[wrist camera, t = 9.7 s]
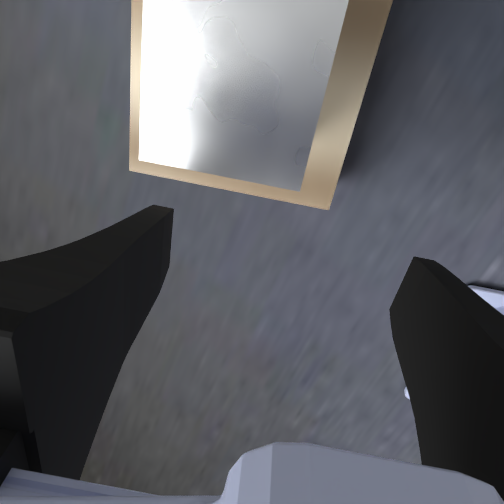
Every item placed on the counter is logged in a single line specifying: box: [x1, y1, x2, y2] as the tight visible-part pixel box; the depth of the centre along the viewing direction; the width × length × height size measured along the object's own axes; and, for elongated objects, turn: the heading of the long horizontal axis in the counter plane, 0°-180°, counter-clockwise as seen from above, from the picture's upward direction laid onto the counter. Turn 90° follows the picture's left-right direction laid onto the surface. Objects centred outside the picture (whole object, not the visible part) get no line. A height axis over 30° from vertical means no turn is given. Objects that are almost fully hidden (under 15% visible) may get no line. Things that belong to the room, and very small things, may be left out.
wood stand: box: [129, 0, 393, 210], centre depth 16 cm, size 14×9×3 cm, turn 170°
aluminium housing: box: [139, 0, 349, 192], centre depth 12 cm, size 9×5×5 cm, turn 170°
